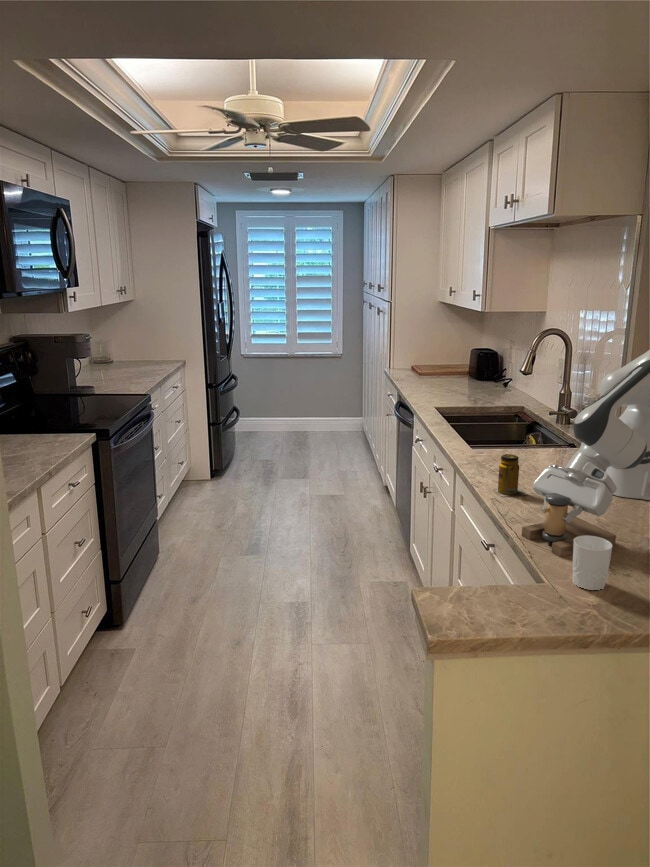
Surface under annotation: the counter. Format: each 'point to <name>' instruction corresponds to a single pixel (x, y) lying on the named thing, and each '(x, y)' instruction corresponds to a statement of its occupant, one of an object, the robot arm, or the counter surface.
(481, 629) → the counter surface
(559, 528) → the tan grey capped cylinder
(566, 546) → the notched board
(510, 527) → the counter surface
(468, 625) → the counter surface
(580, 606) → the counter surface
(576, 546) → the white cup
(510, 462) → the condiment
